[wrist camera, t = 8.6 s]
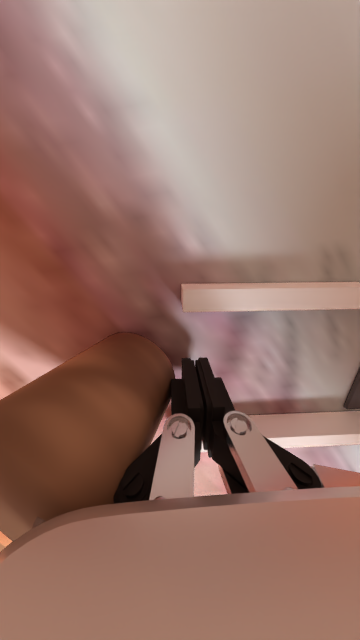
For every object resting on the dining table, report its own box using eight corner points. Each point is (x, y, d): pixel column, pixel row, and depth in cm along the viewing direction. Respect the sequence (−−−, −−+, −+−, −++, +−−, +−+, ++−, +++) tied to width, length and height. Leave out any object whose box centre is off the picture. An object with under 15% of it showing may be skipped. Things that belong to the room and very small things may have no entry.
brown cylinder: (181, 345, 10) (91, 492, 4) (169, 421, 12) (99, 600, 6) (94, 323, 11) (-87, 400, 5) (97, 394, 13) (-28, 515, 7)
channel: (483, 280, 11) (544, 284, 9) (400, 418, 16) (431, 440, 14) (181, 283, 11) (183, 289, 9) (181, 428, 15) (183, 452, 13)
